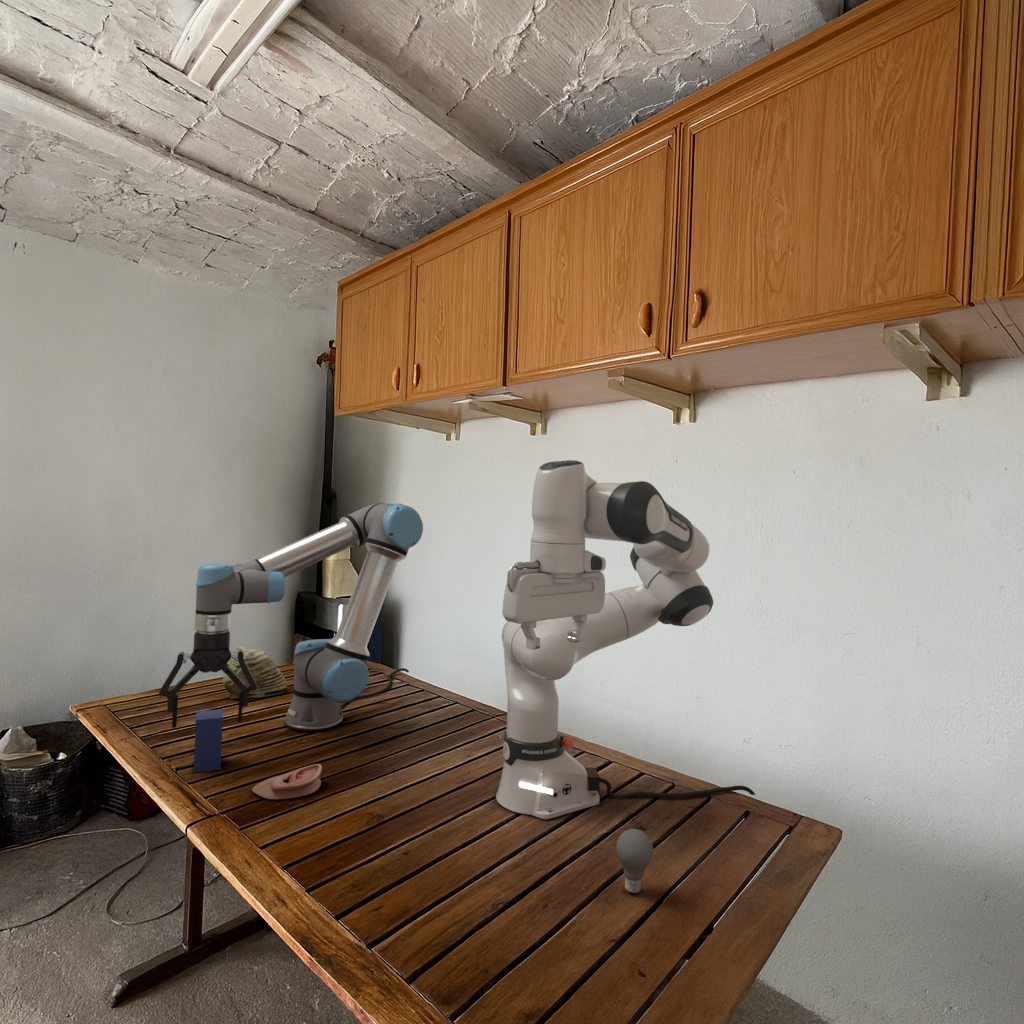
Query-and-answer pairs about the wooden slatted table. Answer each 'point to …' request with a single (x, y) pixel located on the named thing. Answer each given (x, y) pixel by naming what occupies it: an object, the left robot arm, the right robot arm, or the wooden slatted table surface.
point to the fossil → (256, 674)
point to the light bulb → (634, 857)
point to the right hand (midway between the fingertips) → (554, 645)
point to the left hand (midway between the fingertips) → (207, 723)
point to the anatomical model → (291, 783)
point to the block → (208, 740)
